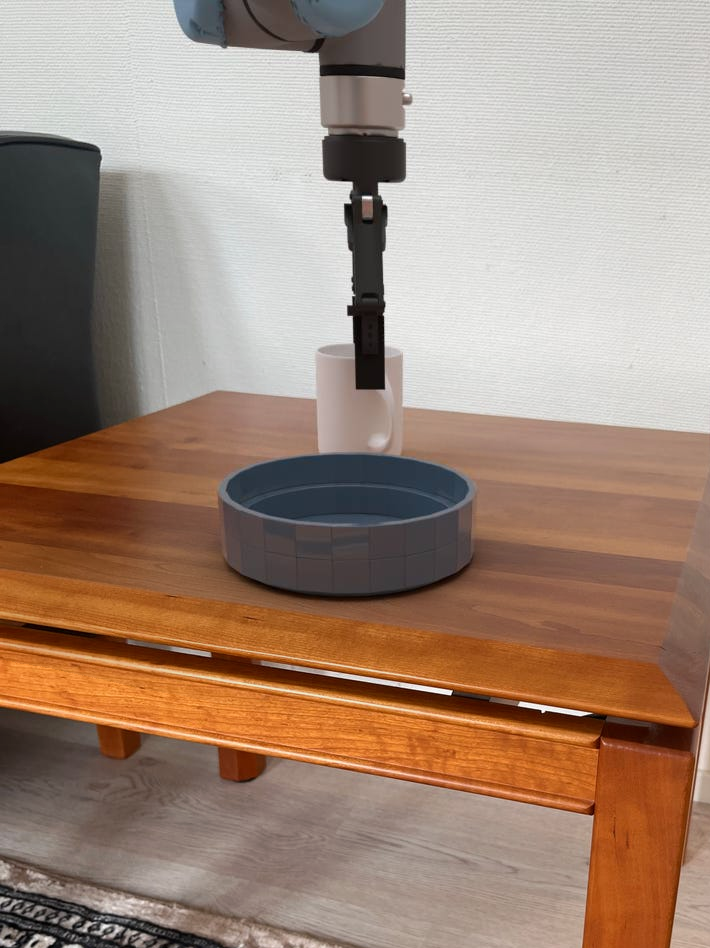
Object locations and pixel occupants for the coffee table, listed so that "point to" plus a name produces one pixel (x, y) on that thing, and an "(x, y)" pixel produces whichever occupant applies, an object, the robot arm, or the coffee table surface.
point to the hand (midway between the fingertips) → (368, 375)
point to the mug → (357, 404)
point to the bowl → (347, 522)
